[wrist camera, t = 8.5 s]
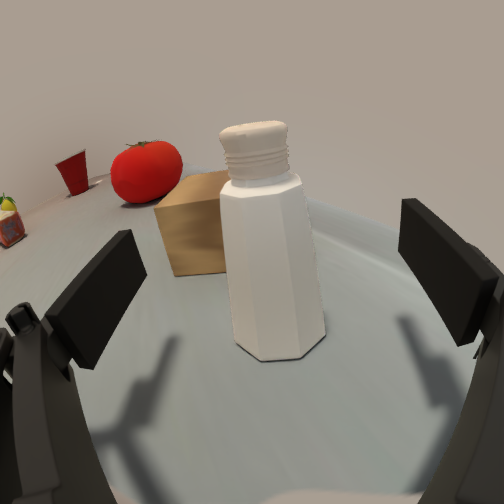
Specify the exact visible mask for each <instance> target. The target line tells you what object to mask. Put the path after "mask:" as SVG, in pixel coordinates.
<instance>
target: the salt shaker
mask: <svg viewBox="0 0 504 504" xmlns="http://www.w3.org/2000/svg"><path fill="white" fill-rule="evenodd" d="M286 137H287V126H286V125H285V123H283V122H280V121H262V122H254V123H247V124H241V125H236V126H231V127H228V128H226V129H224V130H223V131H221V132H220V134H219V139H220V141H221V143H222V145H223V147H224V150H225V154H224V156H225V157H226V158H225V161H227V163H226V165H227V166H228V168H229V173H228V176H229V177H230V178H231V180H229V181H227V182H226V183H225V184H224V186H223V188H222V190H221V192H220V212H221V223H222V233H223V243H224V253H225V262H226V271H227V280H228V289H229V298H230V307H231V315H232V323H233V331H234V339H235V342H236V343H237V344H239V345H240V346H241V347H243V348H244V349H245V350H247V351H248V352H249V353H251V354H252V355H253V356H255V357H256V358H257V359H259V360H260V361H269V360H284V359H296V358H301V357H302V356H303V355H304V354H305V353H306V352H307V351H309V350H310V349H311V348H312V347H313V346H314V345H315V344H316V343H317V342H318V341H319V340H320V339H321V338H322V337H324V336H325V335H326V332H325V323H324V315H323V306H322V299H321V291H320V284H319V276H318V270H317V263H316V256H315V250H314V243H313V237H312V231H311V225H310V220H309V214H308V208H307V203H306V198H305V194H304V191H303V185H302V182H301V180H300V177H299V176H298V175H297V174H295V173H290V172H287V171H288V170H289V169H290V167H289V164H288V160H287V158H288V157H289V154H288V150H287V148H288V145H287V144H286Z"/></svg>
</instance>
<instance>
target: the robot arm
mask: <svg viewBox="0 0 504 504" xmlns="http://www.w3.org/2000/svg"><path fill="white" fill-rule="evenodd" d="M398 252H399V253H400V255H401V256H402V257H403V259H404V260H405V262H406V263H407V265H408V266H409V268H410V269H411V270H412V272H413V273H414V275H415V276H416V278H417V279H418V281H419V283H420V284H421V286H422V287H423V289H424V290H425V292H426V293H427V295H428V297H429V298H430V300H431V301H432V303H433V305H434V306H435V308H436V310H437V311H438V313H439V315H440V316H441V318H442V320H443V321H444V323H445V325H446V327H447V328H448V330H449V332H450V334H451V336H452V337H453V339H454V341H455V343H456V345H457V347H459V346H462V345H466V344H469V343H472V342H474V340H475V338H476V336H477V334H478V331H479V329H480V330H481V332H482V334H483V335H484V338H483V340H482V342H481V344H480V346H479V348H478V350H477V352H476V354H475V356H474V357H473V359H476V357H477V356H478V358H477V362H476V366H475V370H474V374H473V377H472V381H471V384H470V388H469V391H468V394H467V397H466V400H465V403H464V406H463V409H462V412H461V415H460V418H459V420H458V423H457V425H456V428H455V430H454V433H453V435H452V438H451V440H450V442H449V445H448V447H447V449H446V451H445V454H444V456H443V458H442V460H441V462H440V464H439V466H438V468H437V470H436V472H435V474H434V476H433V478H432V479H431V481H430V483H429V485H428V487H427V488H426V490H425V492H424V494H423V495H422V497H421V499H420V500H419V502H418V504H504V275H503V273H501V271H500V270H499V269H498V268H497V267H496V266H495V265H494V264H493V263H491V262H490V260H489V259H488V258H487V257H485V255H484V254H483V253H482V252H481V251H480V250H479V249H478V248H476V247H475V246H473V245H471V244H469V243H466V242H465V241H464V240H463V239H462V238H461V237H460V236H459V235H458V234H457V233H456V232H455V231H453V230H452V229H451V228H450V227H449V226H448V225H447V224H446V223H444V222H443V221H442V220H441V219H440V218H439V217H438V216H436V215H435V214H434V213H433V212H432V211H431V210H429V209H428V208H427V207H426V206H425V205H423V204H422V203H421V202H420V201H418V200H417V199H416V198H411V199H402V206H401V222H400V234H399V245H398ZM146 277H147V273H146V270H145V268H144V265H143V262H142V259H141V257H140V254H139V251H138V248H137V245H136V242H135V239H134V236H133V233H132V230H131V229H128V230H122V231H118V232H117V233H116V234H115V235H114V237H113V238H112V239H111V240H110V241H109V242H108V243H107V244H106V245H105V246H104V247H103V248H102V249H101V250H100V251H99V252H98V253H97V254H96V255H95V256H94V257H93V258H92V259H91V261H90V262H89V263H88V264H87V265H86V266H85V267H84V268H83V269H82V270H81V272H80V273H79V274H78V275H77V276H76V277H75V278H74V279H73V281H72V282H71V283H70V284H69V285H68V286H67V288H66V289H65V290H64V291H63V292H62V293H61V295H60V296H59V297H58V298H57V299H56V301H55V302H54V303H53V304H52V306H51V307H50V308H49V309H48V311H47V312H46V313H45V314H44V315H45V316H44V317H43V318H42V320H41V321H40V320H39V319H38V317H37V315H36V314H35V312H34V310H33V309H32V307H31V305H30V303H28V302H23V303H21V304H19V305H17V306H15V307H14V308H13V309H12V310H11V311H10V312H9V313H8V314H7V316H6V318H5V320H6V322H7V323H8V325H9V326H10V328H11V329H12V331H13V332H14V334H15V335H16V336H13V337H11V335H10V334H9V332H8V331H7V329H6V328H0V504H117V502H116V500H115V498H114V496H113V493H112V492H111V489H110V487H109V485H108V482H107V480H106V477H105V475H104V473H103V470H102V468H101V465H100V462H99V460H98V457H97V454H96V452H95V449H94V446H93V443H92V440H91V437H90V434H89V431H88V427H87V424H86V421H85V417H84V414H83V410H82V406H81V402H80V399H79V394H78V390H77V386H76V381H75V377H74V372H73V369H72V367H71V366H70V364H69V362H70V360H71V359H72V358H73V359H74V361H75V362H76V363H77V365H78V366H79V367H80V368H84V369H91V370H94V368H95V366H96V364H97V362H98V360H99V358H100V356H101V354H102V353H103V351H104V349H105V347H106V345H107V343H108V341H109V340H110V338H111V336H112V334H113V332H114V331H115V329H116V327H117V325H118V324H119V322H120V320H121V318H122V317H123V315H124V313H125V311H126V310H127V308H128V306H129V305H130V303H131V301H132V300H133V298H134V296H135V295H136V293H137V291H138V290H139V288H140V286H141V285H142V283H143V281H144V280H145V278H146ZM4 370H5V371H6V372H7V373H8V375H9V376H10V377H11V378H12V379H13V382H12V384H11V383H9V382H8V380H7V379H6V378H5V377H4V376H3V371H4Z"/></svg>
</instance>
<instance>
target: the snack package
mask: <svg viewBox="0 0 504 504" xmlns="http://www.w3.org/2000/svg"><path fill="white" fill-rule="evenodd" d="M24 232H25V229H24V225H23V222H22V220H21V217H20V215H19V213H18V212H17V211H2V210H0V242H1V243H3V244H4V245H5V246H7V247H9V246H11V245H13V244H15V243H16V242H18V241H19V240H20V239H21V238H22V237H23V236H24Z"/></svg>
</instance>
